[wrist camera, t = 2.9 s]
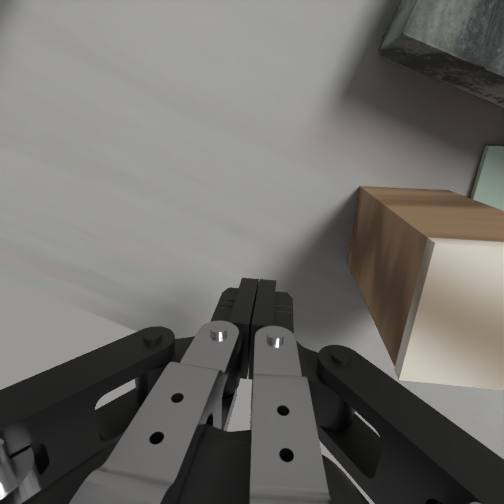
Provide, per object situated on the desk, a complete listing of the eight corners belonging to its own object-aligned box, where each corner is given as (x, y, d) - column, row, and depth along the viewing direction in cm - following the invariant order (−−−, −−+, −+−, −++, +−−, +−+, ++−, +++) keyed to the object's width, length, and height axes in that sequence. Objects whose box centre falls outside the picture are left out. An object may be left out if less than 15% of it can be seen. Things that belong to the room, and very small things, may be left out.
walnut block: (359, 185, 22) (435, 243, 11) (449, 189, 21) (628, 254, 10) (346, 264, 24) (398, 380, 13) (428, 269, 24) (556, 395, 12)
